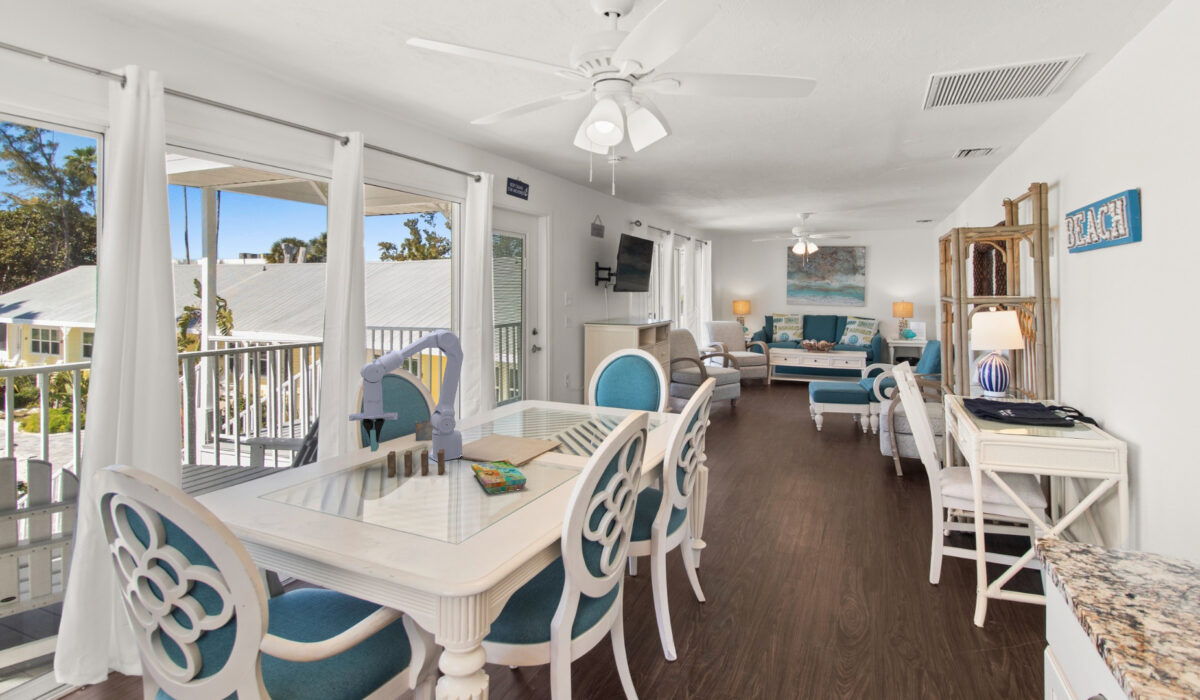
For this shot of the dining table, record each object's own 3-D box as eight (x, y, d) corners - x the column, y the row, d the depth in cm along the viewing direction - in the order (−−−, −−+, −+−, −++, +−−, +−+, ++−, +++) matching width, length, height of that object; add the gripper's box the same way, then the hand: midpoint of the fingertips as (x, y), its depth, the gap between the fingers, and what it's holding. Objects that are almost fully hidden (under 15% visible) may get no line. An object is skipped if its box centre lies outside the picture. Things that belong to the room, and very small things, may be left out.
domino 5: (444, 470, 187) (444, 449, 186) (443, 474, 183) (442, 453, 182) (439, 470, 187) (439, 449, 186) (438, 475, 182) (437, 453, 182)
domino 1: (378, 447, 191) (378, 426, 190) (376, 451, 187) (375, 429, 186) (373, 447, 191) (373, 426, 190) (370, 451, 186) (370, 430, 186)
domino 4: (428, 471, 186) (428, 449, 185) (426, 475, 182) (426, 453, 181) (423, 471, 186) (422, 450, 185) (421, 475, 182) (420, 453, 181)
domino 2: (396, 472, 185) (395, 451, 184) (393, 477, 180) (392, 455, 180) (390, 472, 184) (390, 451, 184) (387, 477, 180) (387, 455, 179)
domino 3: (412, 471, 185) (411, 450, 185) (410, 476, 181) (409, 454, 180) (407, 472, 185) (406, 450, 184) (404, 476, 181) (404, 454, 180)
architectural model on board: (447, 438, 228) (446, 414, 227) (446, 440, 225) (445, 416, 224) (416, 440, 226) (416, 415, 225) (415, 442, 223) (415, 417, 222)
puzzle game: (485, 480, 164) (471, 461, 182) (486, 496, 164) (471, 475, 183) (526, 475, 169) (507, 457, 187) (526, 491, 169) (508, 471, 187)
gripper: (345, 403, 182) (347, 446, 183) (394, 402, 184) (395, 444, 186) (351, 399, 189) (353, 440, 190) (398, 398, 191) (399, 438, 193)
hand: (374, 441), depth 188 cm, fingers closed on domino 1, 1 cm apart
